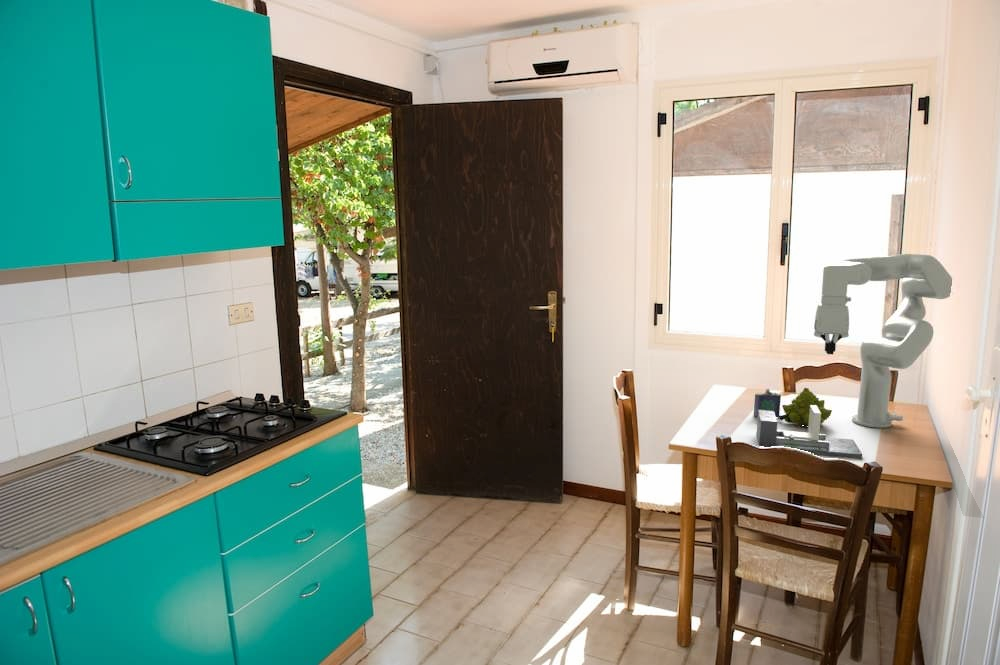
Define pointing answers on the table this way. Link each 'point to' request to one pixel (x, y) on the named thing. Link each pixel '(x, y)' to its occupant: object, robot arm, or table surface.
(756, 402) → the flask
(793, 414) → the vegetable
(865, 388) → the robot arm
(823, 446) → the base
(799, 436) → the white block
